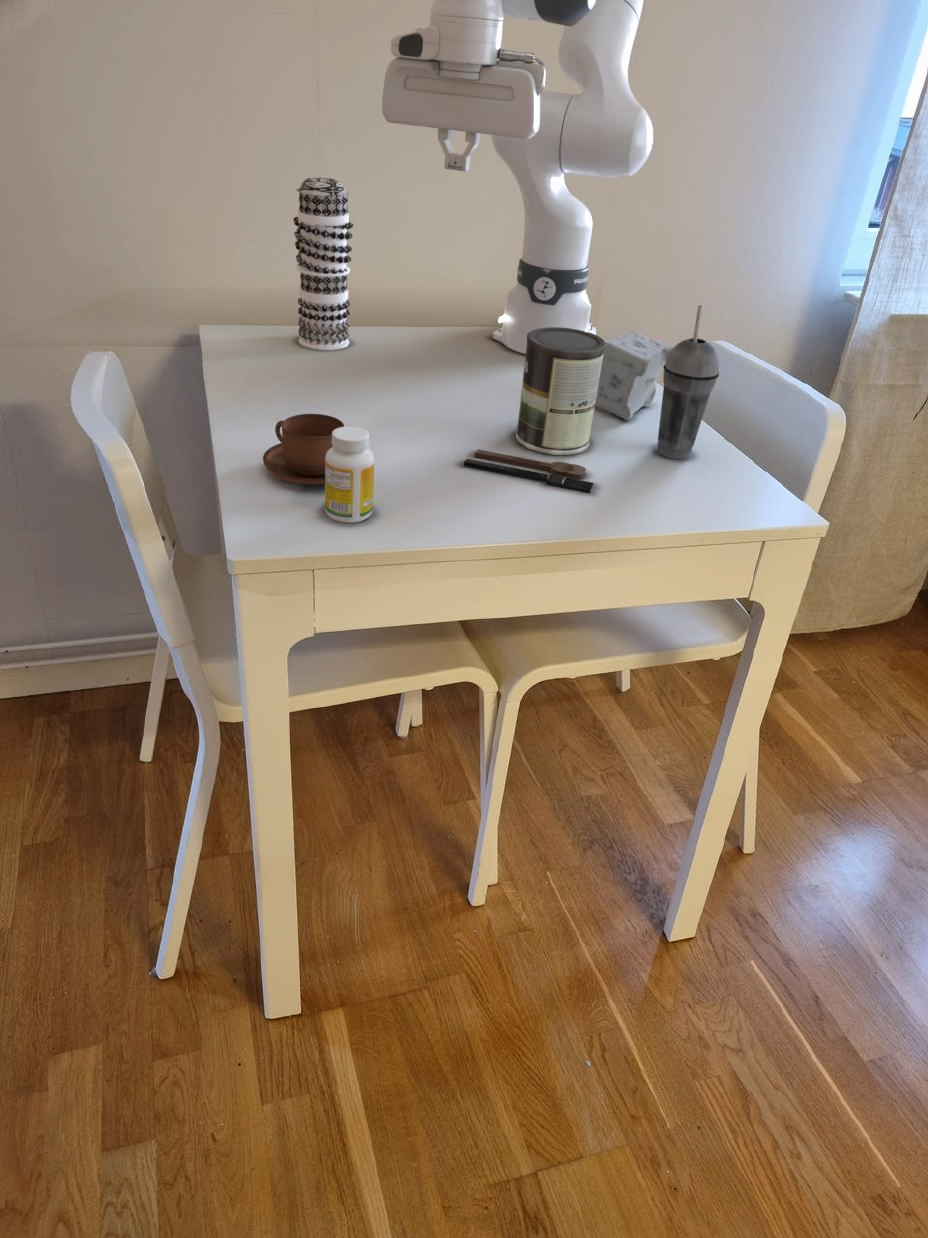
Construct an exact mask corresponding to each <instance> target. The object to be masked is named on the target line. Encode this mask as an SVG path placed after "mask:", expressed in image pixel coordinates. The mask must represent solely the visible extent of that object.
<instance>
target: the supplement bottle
mask: <svg viewBox="0 0 928 1238" xmlns="http://www.w3.org/2000/svg"><path fill="white" fill-rule="evenodd" d="M332 446H333V447H332V448H330V449H329V450H328V452H327V453H326V457H325V485H324V511H325V514H326V515H327V516H328V517H329V518H330V519H332V520H334V521H335V522H340V523H346V524H347V523H348V524H353V523H359V522H363V521H365V520H367V519H368V518H370V516H371V515H372V514H373V508H374V506H373V505H374V477H375V456H374V454H373V452H372V450H371V449H369V446H370V434H369V432H368V431H367V430H366V429H364V428H361V427H358V426H344V427H340V428H337V429H335V430H334V431H333V432H332Z"/></svg>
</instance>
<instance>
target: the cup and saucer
mask: <svg viewBox="0 0 928 1238" xmlns="http://www.w3.org/2000/svg"><path fill="white" fill-rule="evenodd" d="M274 427H275V429H274V430H275V436H276V438H277V440H278V441H279V442H280V443H277V444H274V445H273V446H271V447H269V448H268V449H267V450H266V451H265V452H264V454H263V456H262V461H263V465H264V467H265V468H266V470H267V471H268V472H269V473H271V474H272V475H273V476H275V477H276V478H278V479H280V480H283V481H285V482H288V483H292V484H294V485H295V484H296V485H302V486H325V457H326V453H327V452H328V450H329V449H330V448H332V447H333V446H332V432H333V431H334V430H335V429H337V428H340V427H345V424H344V422H343V421H342V420H340V419H339V418H337V417H334V416H332V415H327V414H322V413H301V414H295V415H292V416H289V417H287V418H285V419H284V420H282V419H281V420H279V421H277V422H276V424H275V426H274Z"/></svg>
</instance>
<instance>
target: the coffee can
mask: <svg viewBox="0 0 928 1238" xmlns="http://www.w3.org/2000/svg"><path fill="white" fill-rule="evenodd" d="M606 342H607V341H605V340H604V339H603V338H602V337H600V336H598V335H597V334H596V335H595V334H592V333H589V332H586V331H582V330H577V329H571V328H560V327H549V328H540V329H536V330H533V331H530V332H529V333H528V334H527V348H526V354H525V358H524V366H523V374H522V385H521V392H520V402H519V411H518V419H517V427H516V433H515V438H516V441H517V442H518V444H520V445H521V446H523V447H525V448H526V449H528V450H530V451H534V452H537V453H540V454H546V455H553V456H573V455H575V454H580V453H582V452H584V451H586V450H587V449H588V448H589V447H590V439H591V433H592V427H593V421H594V420H593V419H594V415H595V408H596V406H595V402H596V396H597V390H598V384H599V378H600V372H601V366H602V360H603V354H604V351H605V348H606Z"/></svg>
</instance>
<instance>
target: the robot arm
mask: <svg viewBox="0 0 928 1238" xmlns="http://www.w3.org/2000/svg"><path fill="white" fill-rule="evenodd" d="M643 5H644V0H433V2H432V4H431V8H430V17H429V18H430V19H429V24H428V26H426V27H422V28H417V29H415V30H412V31H409V32H405V33H401V34H398V35H395V36H393V37H392V38H391V41H390V51H391V55H392V56H394V57H395V58H393V59H392V60H391V61H390V62H389V63H388V64H387V66H386V70H385V72H384V80H383V87H382V88H383V89H382V97H381V98H382V99H381V113H382V115H383V117H384V119H385V121H386V122H387V123H389V124H390V123H391V124H396V125H407V126H414V127H422V128H431V129H437V140H438V143H439V146H440V147H441V150H442V152H443V154H444V169H445V170H451V171H459V172H469V171H470V165H471V156H472V155H473V154H474V153H475V151H476V149H477V147H478V145H479V144H480V142H481V135H489V136H490V138H491V142H492V146H493V148H494V150H495V153H497V156H498V157H499V158H500V159H501V161H503V162H504V163H505V164H506V166H507V167H508V169H510V171H511V173H512V174H513V176H514V178H515V180H516V182H517V185H518V187H519V190H520V194H521V198H522V201H523V209H524V227H523V228H524V229H523V243H522V254H521V258H520V259H519V260H518V266H517V270H516V273H517V277H516V281H517V284H515V286H514V287H513V288H511V289H510V290H509V291H507V294H506V297H505V298H506V299H505V304H504V312H503V315H502V316H500V317H498V323H499V324H501V323H502V326H501V327H500V328H499V329H496V330H494V331H493V332H492V339H494V340H495V341H496V342H497V341H498V342H500V343H502V344H503V345H504V346H505V347H506V348H508V349H510V350H512V351H514V352H517V353H521V354H523V355H526V348H527V334H528V333H529V332H530V331H533V330H536V329H540V328H549V327H560V328H571V329H577V330H582V331H586V332H589V333H592V334H595V335H597V329H596V327H594V326H593V324H592V322H590V316H591V309H592V304H591V303H590V299H589V296H588V293H587V290H586V289H587V287H588V283H589V279H590V267H589V265H588V260H589V256H590V255H589V254H590V248H591V247H590V246H591V240H592V235H593V234H592V233H593V227H594V221H593V217H592V214H591V212H590V210H589V208H588V207H587V206H586V205H585V204H584V203H583V201H581V200H579V199H578V198H577V197H575V196H574V195H572V194H571V191H569V190H568V189H569V188H568V187H567V185H566V182H565V174H572V175H573V174H574V175H579V176H586V177H595V178H600V179H601V178H602V179H612V178H623V177H632V176H634V175H635V174H636V173H637V172H639V171H640V170H641V169H642V167H643V166H644V164H645V163H646V162H647V160H648V158H649V156H650V153H651V151H652V148H653V141H654V130H653V124H652V121H651V118H650V116H649V114H648V112H647V110H646V109H645V108H644V107H643V106H642V104H640V103H639V102H638V100H637V99H636V97H635V96H634V94H633V92H632V89H631V87H630V83H629V82H630V81H629V77H628V76H629V65H630V58H631V53H632V49H633V45H634V41H635V38H636V34H637V30H638V27H639V24H640V19H641V15H642V10H643V7H644V6H643ZM504 18H511V19H518V20H519V19H520V20H521V19H522V20H530V21H531V20H532V21H543V22H546V23H550V24H554V25H559V26H564V29H563V32H562V35H561V38H560V41H559V45H558V62H559V65H560V67H561V70H562V72H563V73H564V74H565V76H566V77H567V79H569V80H570V82H572V83H573V84H574V85H575V86H576V87H578V88H579V89H580V90H582V92H581V93H566V92H557V91H548V90H547V91H546V90H544V88H545V83H546V75H547V74H546V73H547V69H546V65H545V63H544V62H543V60H542V59H541V58H539V57H537V55H536V54H535V52H534V53H533V52H530V51H525V52H519V51H515V50H509V49H502V41H503V31H504V29H503V27H504ZM536 62H537V63H536ZM455 131H456V132H464V133H465V138H464V141H465V142H466V143H468V145H467V146H466V148H465V149H464V152H463V153H455V152H454V149H453V146H452V144H451V141H450V139H453V137H454V132H455Z"/></svg>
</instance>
